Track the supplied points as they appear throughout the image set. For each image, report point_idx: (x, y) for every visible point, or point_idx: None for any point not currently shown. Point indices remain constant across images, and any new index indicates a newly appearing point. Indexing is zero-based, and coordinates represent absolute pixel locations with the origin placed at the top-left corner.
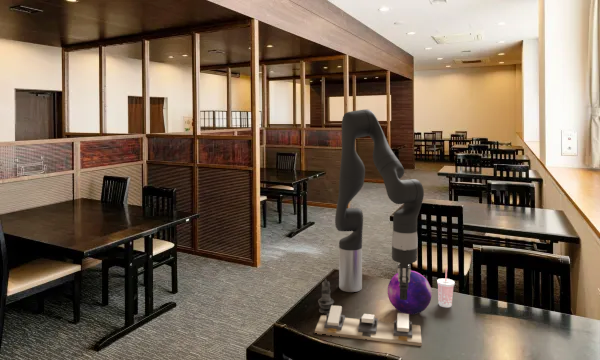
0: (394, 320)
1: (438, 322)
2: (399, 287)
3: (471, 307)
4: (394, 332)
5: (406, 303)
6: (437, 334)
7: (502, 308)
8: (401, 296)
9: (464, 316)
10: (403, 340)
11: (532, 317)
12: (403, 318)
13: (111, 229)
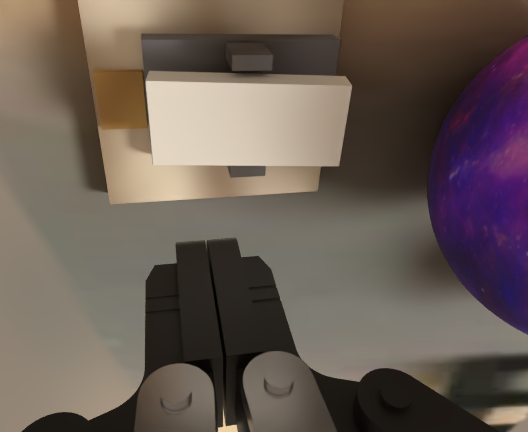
0: (265, 55)
1: (379, 255)
2: None
3: (502, 350)
4: (149, 46)
5: (451, 163)
6: (259, 255)
7: (479, 417)
8: (146, 292)
9: (431, 335)
10: (99, 103)
11: None
12: (277, 129)
13: None
